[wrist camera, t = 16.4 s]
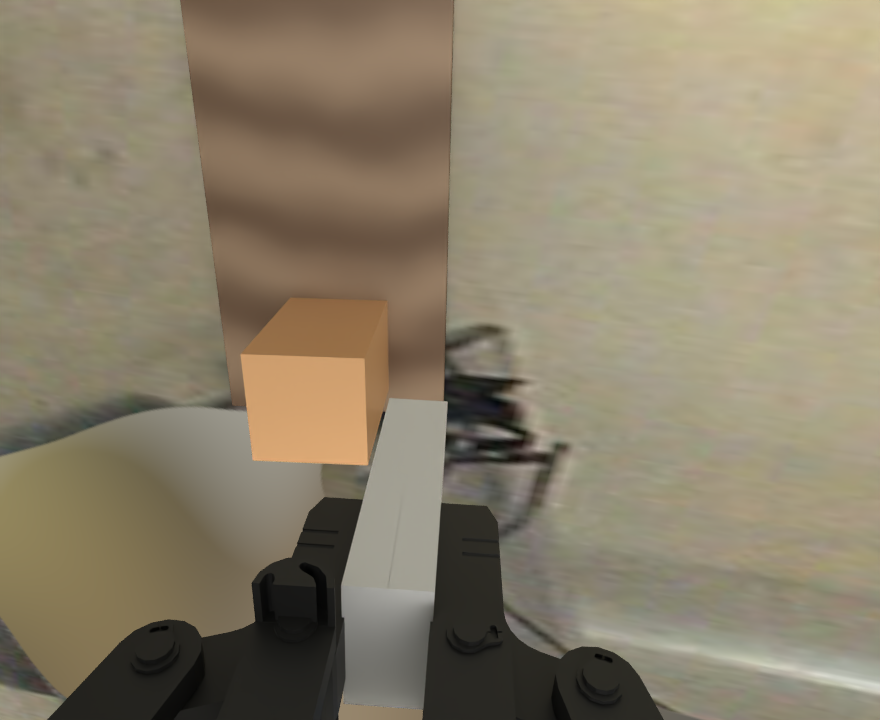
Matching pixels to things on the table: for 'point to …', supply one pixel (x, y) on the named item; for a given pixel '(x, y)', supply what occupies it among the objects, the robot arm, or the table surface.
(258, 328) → the walnut board
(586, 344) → the table surface
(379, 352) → the upright tan block
